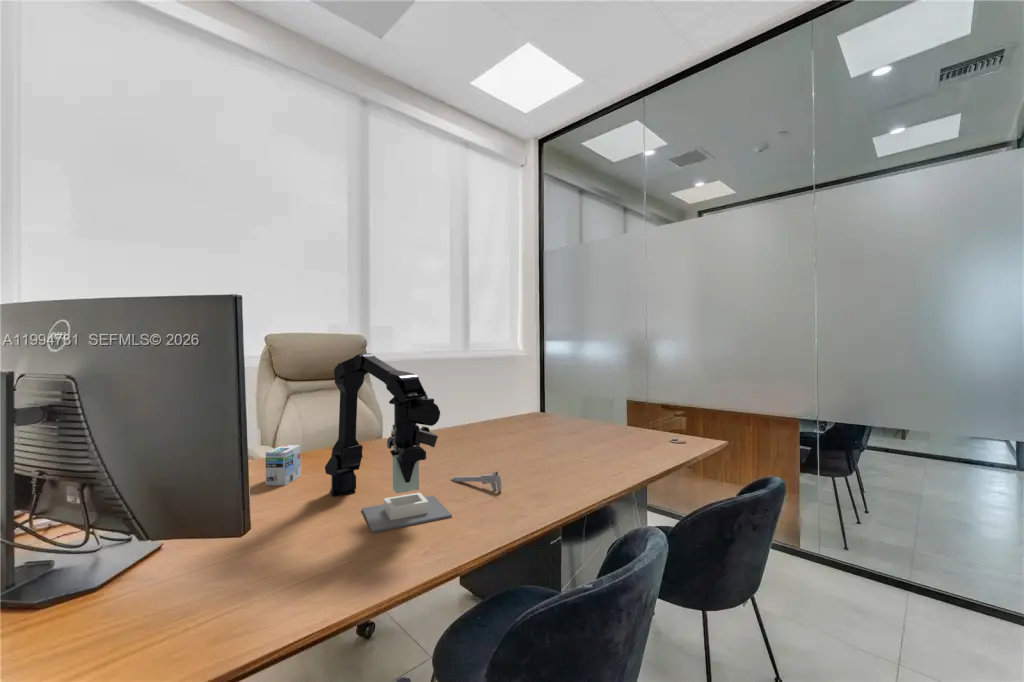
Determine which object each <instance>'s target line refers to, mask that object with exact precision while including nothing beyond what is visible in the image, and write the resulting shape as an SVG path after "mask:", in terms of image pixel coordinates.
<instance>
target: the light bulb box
mask: <svg viewBox="0 0 1024 682" xmlns="http://www.w3.org/2000/svg"><path fill="white" fill-rule="evenodd" d="M301 477H302V445H300V444H296V445H295V444H282V445H279V446H278V447H275V448H273V449H271V450H268V451H266V452H265V486H287V485H289V484H291V483H292V482H293V481H295V480H297V479H298V478H301Z"/></svg>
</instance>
